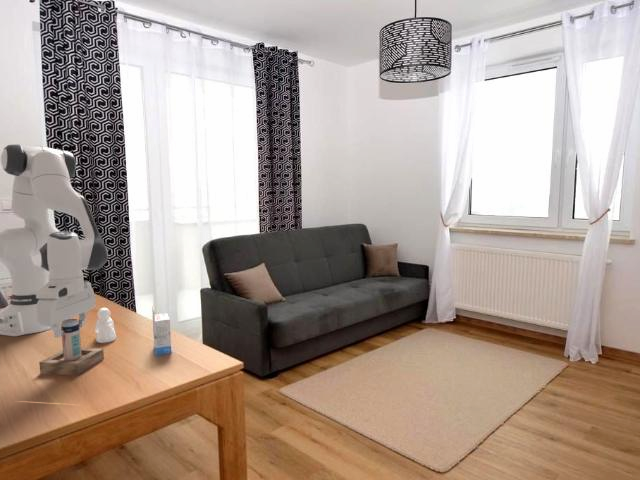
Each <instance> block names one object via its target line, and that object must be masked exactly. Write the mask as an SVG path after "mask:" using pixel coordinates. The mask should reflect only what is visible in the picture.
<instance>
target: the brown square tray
mask: <svg viewBox="0 0 640 480" xmlns="http://www.w3.org/2000/svg"><path fill="white" fill-rule="evenodd" d="M81 353H82V356H81V357H80V358H79V359H78V360H75V361H66V360H64V356H63V349H62V350H61V351H59V352H57V353H55V354H52V355H50V356H49V357H47V358H44V359H43V360H41V361H39V363H38V364H39V372H40V373H39V375H40V374H41V375H60V376H61V375H62V376H77V377H78V376H80V375H81V374H83V373H85V372H87V370H89V369H91V368H92V367H94V366H95V365H96V364H98V363H100V362H101V361H103V360H104V358H105V355H104V353H105V351H104V348H97V347H96V348H95V347H92V348H91V347H81Z"/></svg>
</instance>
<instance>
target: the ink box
mask: <svg viewBox="0 0 640 480" xmlns="http://www.w3.org/2000/svg"><path fill="white" fill-rule="evenodd" d="M151 309H152V310H151V311H152V332H153V348H154V349H153V350H154V352H155V356H160V355H167V354H168V355H169V354H172V339H171V337H172V336H171V319H170V316H169V314H168V313H167V312H166V313H160V314H159V313H158V314H155V313H156V312H155V309H154V306H152V308H151Z"/></svg>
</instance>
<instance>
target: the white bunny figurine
mask: <svg viewBox="0 0 640 480" xmlns="http://www.w3.org/2000/svg"><path fill="white" fill-rule="evenodd" d="M111 313H112V312H111V311H110V310H109V308H107V307H101V308H100V309H99V310H98V312H97V313H96V314H95V315H96V316H98V318H97V321H96V323H95V329H94V332H95V333H96V334H97V336H96V339H95V340H96V342H97V343H100V344H107V343H111V342H113V341H114V342H115V339H117V333H116V331H115V326H114V325H115V323H114V320H113V319H112V317H110V315H111Z"/></svg>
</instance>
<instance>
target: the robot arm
mask: <svg viewBox="0 0 640 480" xmlns="http://www.w3.org/2000/svg"><path fill="white" fill-rule="evenodd" d="M0 164H1V166H2V168H3V169H2V170H3V171H5V173H6V174H8V175H11V176H14V180H13V182H12V183H13V184H12V193H11V194H12V196H11V207H10V208H11V211H12V213H13V214H14V215H15V216H16V217H18V218H20V219H22V220H24V227H16V228H5V229H2V230H1V229H0V262H1V263H2V264H3V265H4V266H5V267H6V268H7V270H8V272H9V273H10V278H11V282H12V284H11V285H12V290H13V291H12V292H13V293H12V294H11V295H9V296H7V299H6V300H10V301H9V304H8V305H7V306H6V307H4V308H3V309H2V310H1V311H0V335H2V336H8V337H18V336H23V335H29V334H30V335H31V334H36V333H40V332H44V331H48V330H50V329H51V330H52V331H53V335H54V338H62V336H63V335H64V334H63V330H61V323H62V321H64V320H67V319H73V317H77V316H78V319H77V320H78V322H79V328H83V327H85V326H86V319H87V317H88V311H90V310H91V311H92V310H93V309H95V307H96V297H95V292H94V288H93V287H92V283H91V282H89V281H88V280H84V272H83V270H87V271H88V270H99V269H101V268H102V267H103V266H104V265H105V264H106V263H107V262H108V259H109V258H108V257H109V256H108V255H109V253H108V249H107V247H106V245H105V243H104V240H103V237H102V236H101V234H100V232H99V229H98V226H97V224H96V222H95V219H94V217H93V216H94V215H93V214H92V211H91V208H90V206H89V204H88V202H87V200H86V198H85V197H84V196H83V195H81V194H79V193H78V192H77V191H76V190H75V189H74V187H73V186H72V183H71V178H73V176H75V173H76V169H77V162H76V157H75V155H73V153H72V152H69V151H68V150H67V151H66V150H63V149H61V150H60V149H56V148H51V147H45V146H34V145H20V144H7V146H5V147H4V148H3V151H2V152H1V155H0ZM49 210H51V211H54V212H55V211H56V212H60V213H64V214H67V215H70V216H72V217H74V218H75V219H76V220H77V221H78V223H79V225H80V228H81V230H82V233H83V236H84V239H79V236H78V233H76V232H74V231H69V230H63V231H62V230H59V229H58V228H57V227H55V226H54V225H53V224H52V222H51V219H50V218H49ZM34 256H40V265H36V264H35V263H34V262H33V259H32V257H34ZM47 271H48V272H49V274H48V272H47Z"/></svg>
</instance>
